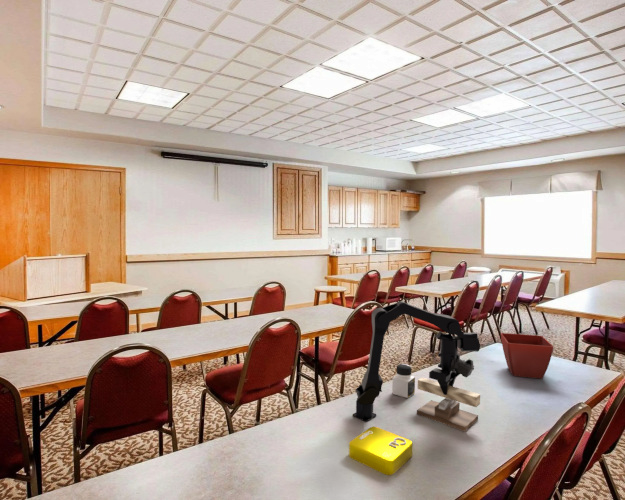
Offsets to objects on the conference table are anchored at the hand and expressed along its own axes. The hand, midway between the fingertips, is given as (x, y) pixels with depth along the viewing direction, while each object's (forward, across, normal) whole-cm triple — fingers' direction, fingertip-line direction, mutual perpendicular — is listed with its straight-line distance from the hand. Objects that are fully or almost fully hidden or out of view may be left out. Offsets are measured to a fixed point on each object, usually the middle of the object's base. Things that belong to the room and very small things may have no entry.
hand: (447, 392), depth 140 cm
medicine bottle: (+9, +7, +22) cm, 25 cm away
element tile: (+10, -38, +4) cm, 39 cm away
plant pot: (+9, +70, -8) cm, 71 cm away
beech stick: (+1, 0, 0) cm, 1 cm away
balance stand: (+9, 0, 0) cm, 9 cm away
